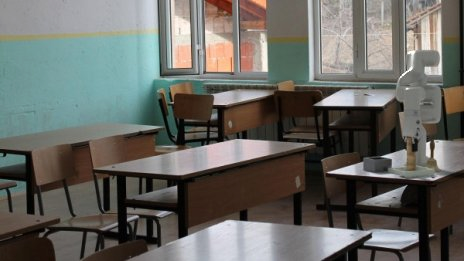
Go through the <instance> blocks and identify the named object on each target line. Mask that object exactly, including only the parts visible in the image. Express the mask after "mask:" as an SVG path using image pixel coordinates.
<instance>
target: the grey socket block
mask: <svg viewBox="0 0 464 261" xmlns="http://www.w3.org/2000/svg"><path fill="white" fill-rule="evenodd" d="M362 160H363V164H362V166H363V168H362V169H363V171H366V172H371V173H385V172H387V173H389V172H388V168H393V158H390V157H389V158H388V157H384V156H371V157H370V156H369V157H363V158H362Z"/></svg>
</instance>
